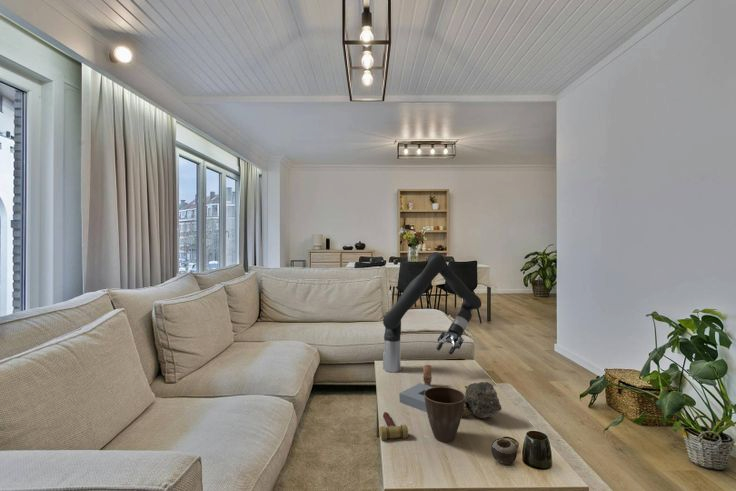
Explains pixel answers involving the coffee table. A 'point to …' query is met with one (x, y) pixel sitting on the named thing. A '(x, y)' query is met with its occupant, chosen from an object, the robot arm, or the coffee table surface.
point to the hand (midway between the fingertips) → (443, 351)
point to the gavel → (392, 429)
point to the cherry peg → (427, 375)
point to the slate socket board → (415, 396)
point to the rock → (481, 400)
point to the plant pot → (444, 411)
